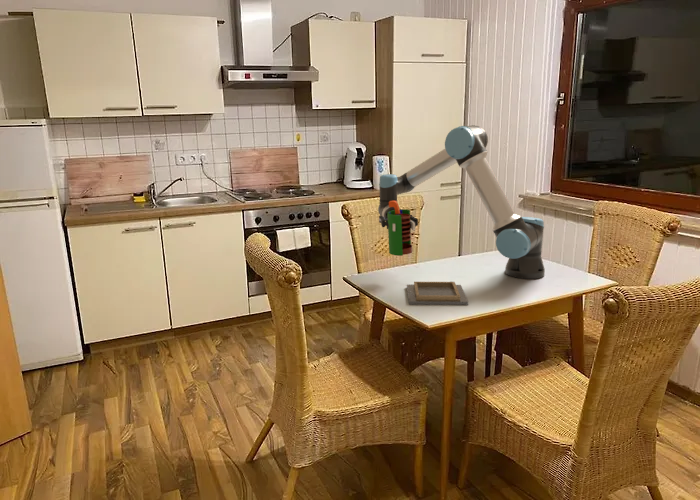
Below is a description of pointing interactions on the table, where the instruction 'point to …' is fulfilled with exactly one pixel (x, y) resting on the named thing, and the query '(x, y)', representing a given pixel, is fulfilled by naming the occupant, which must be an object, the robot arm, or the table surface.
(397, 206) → the green cylindrical holder
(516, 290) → the table surface
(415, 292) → the plate
